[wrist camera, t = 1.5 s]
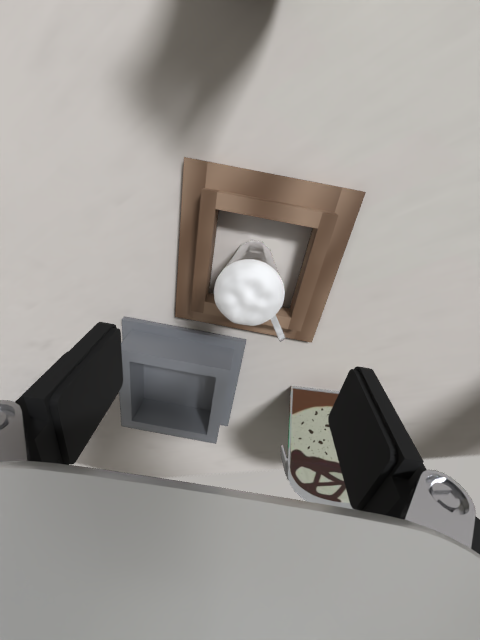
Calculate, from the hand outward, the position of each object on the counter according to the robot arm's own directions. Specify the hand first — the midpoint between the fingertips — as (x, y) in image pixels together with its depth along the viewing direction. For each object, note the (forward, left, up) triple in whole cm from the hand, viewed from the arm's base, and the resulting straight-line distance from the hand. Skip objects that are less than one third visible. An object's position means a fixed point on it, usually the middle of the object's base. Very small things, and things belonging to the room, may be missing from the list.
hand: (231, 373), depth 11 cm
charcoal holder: (+5, +15, -16) cm, 22 cm away
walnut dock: (-1, 0, -16) cm, 16 cm away
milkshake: (-1, 0, -16) cm, 16 cm away
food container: (-12, +16, -16) cm, 26 cm away
